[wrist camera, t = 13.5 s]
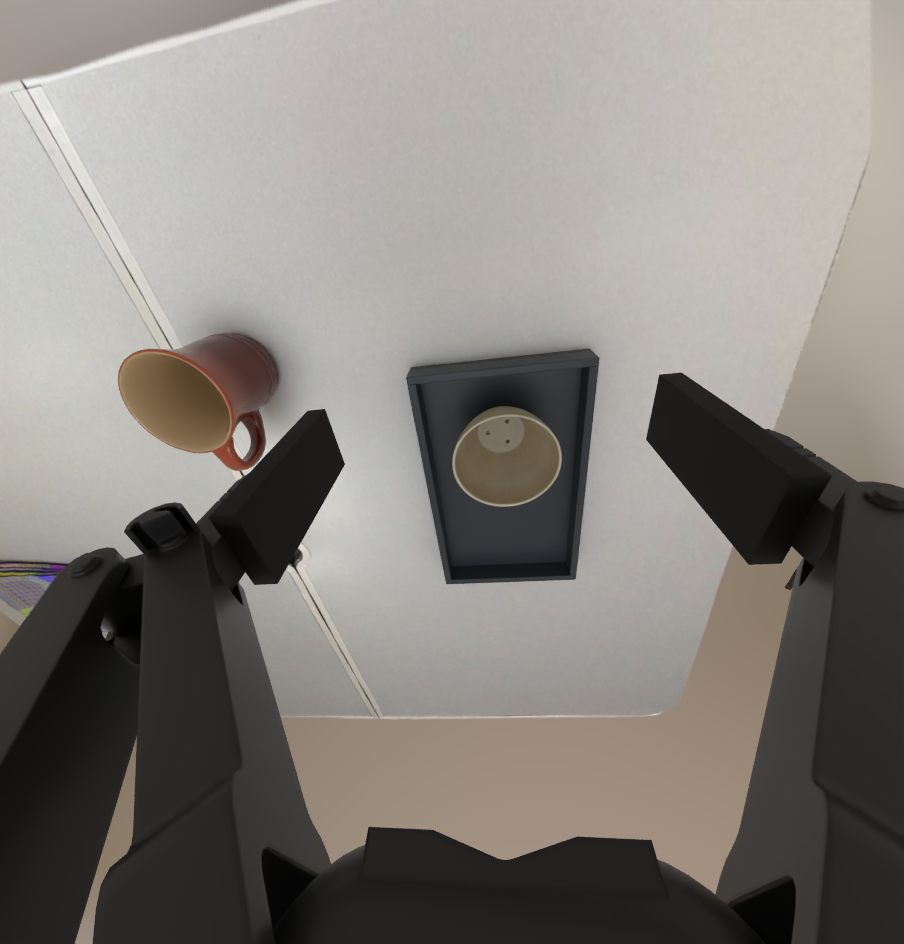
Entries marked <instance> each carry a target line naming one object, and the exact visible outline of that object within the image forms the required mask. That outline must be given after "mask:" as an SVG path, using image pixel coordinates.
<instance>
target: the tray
mask: <svg viewBox="0 0 904 944" xmlns="http://www.w3.org/2000/svg"><path fill="white" fill-rule="evenodd" d="M598 365H599V357H598V356H597V355H596V354H595V353H594V352H593V351H591V349H583V350H573V351H564V352H554V353H545V354H536V355H526V356H517V357H507V358H498V359H488V360H479V361H470V362H460V363H451V364H441V365H432V366H422V367H413V368H411V369H410V371H409V373H408V375H407V377H406V379H407V384H408V390H409V395H410V400H411V405H412V410H413V415H414V421H415V426H416V431H417V436H418V441H419V446H420V451H421V457H422V462H423V467H424V472H425V477H426V482H427V488H428V493H429V498H430V503H431V508H432V513H433V518H434V524H435V529H436V534H437V539H438V544H439V549H440V554H441V560H442V565H443V570H444V575H445V580H446V584H465V583H492V582H520V581H547V580H574V579H576V571H577V562H578V553H579V543H580V534H581V524H582V515H583V506H584V496H585V487H586V478H587V468H588V459H589V450H590V440H591V431H592V422H593V412H594V403H595V394H596V384H597V375H598ZM499 406H511V407H516V408H520V409H523V410H525V411H527V412H529V413H531V414H533V415H534V416H536V417H537V418H539V419H540V420H541V421H542V422H543V423H545V424H546V425H547V426H548V428H549V429H550V430H551V431H552V432H553V434H554V435H555V437H556V438H557V440H558V442H559V445H560V448H561V454H562V462H561V468H560V471H559V474H558V476H557V478H556V480H555V481H554V483H553V484H552V485H551V486H550V487H549V488H548V489H547V490H546V491H545V492H544V493H543V494H542V495H540V496H539V497H537V498H535V499H534V500H531V501H529V502H527V503H524V504H520V505H516V506H508V507H500V506H492V505H487V504H485V503H482V502H479V501H477V500H475V499H474V498H472V497H470V496H469V495H468V494H467V493H466V492H464V490H463V489H462V488H461V487H460V486H459V484H458V483H457V480H456V478H455V476H454V473H453V467H452V460H453V454H454V450H455V447H456V444H457V442H458V440H459V438H460V436H461V434H462V432H463V431H464V429H465V428H466V427H467V425H468V424H469V423H470V422H471V421H472V420H473V419H474V418H475V417H476V416H478V415H479V414H481V413H482V412H484V411H486V410H488V409H491V408H494V407H499ZM505 422H507V420H506V421H505ZM487 434H489V433H487ZM507 441H509V440H507Z"/></svg>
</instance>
